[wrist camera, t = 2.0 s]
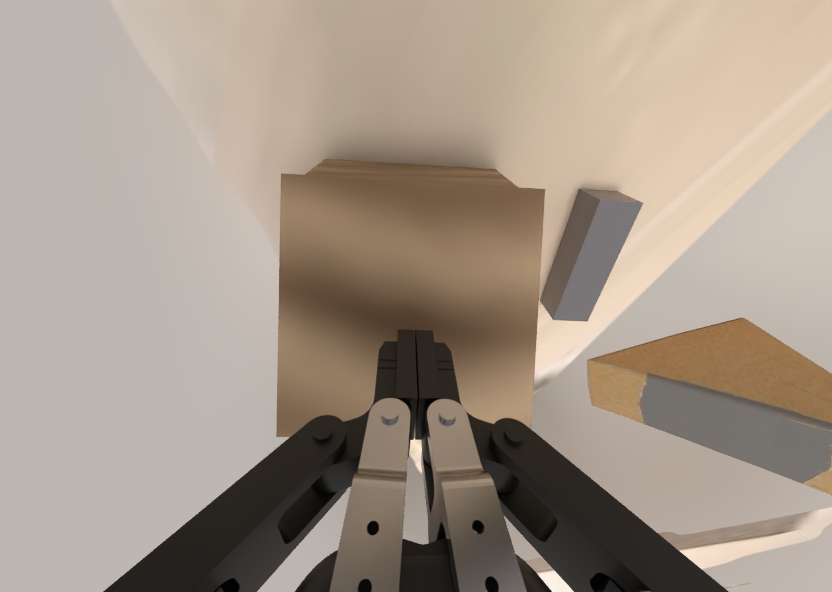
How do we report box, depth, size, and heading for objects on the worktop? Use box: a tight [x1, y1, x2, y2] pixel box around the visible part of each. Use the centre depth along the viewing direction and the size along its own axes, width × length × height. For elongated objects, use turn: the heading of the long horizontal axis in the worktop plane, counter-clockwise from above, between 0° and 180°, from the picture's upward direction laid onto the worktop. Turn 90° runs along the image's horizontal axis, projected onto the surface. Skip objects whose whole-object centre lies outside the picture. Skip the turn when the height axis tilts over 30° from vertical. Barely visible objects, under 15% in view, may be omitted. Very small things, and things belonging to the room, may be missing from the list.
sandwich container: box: [587, 318, 832, 495], centre depth 28 cm, size 9×15×15 cm, turn 111°
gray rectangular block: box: [540, 189, 643, 321], centre depth 25 cm, size 10×3×3 cm, turn 176°
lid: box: [277, 174, 545, 438], centre depth 15 cm, size 12×12×1 cm
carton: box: [306, 159, 518, 188], centre depth 22 cm, size 12×12×7 cm
